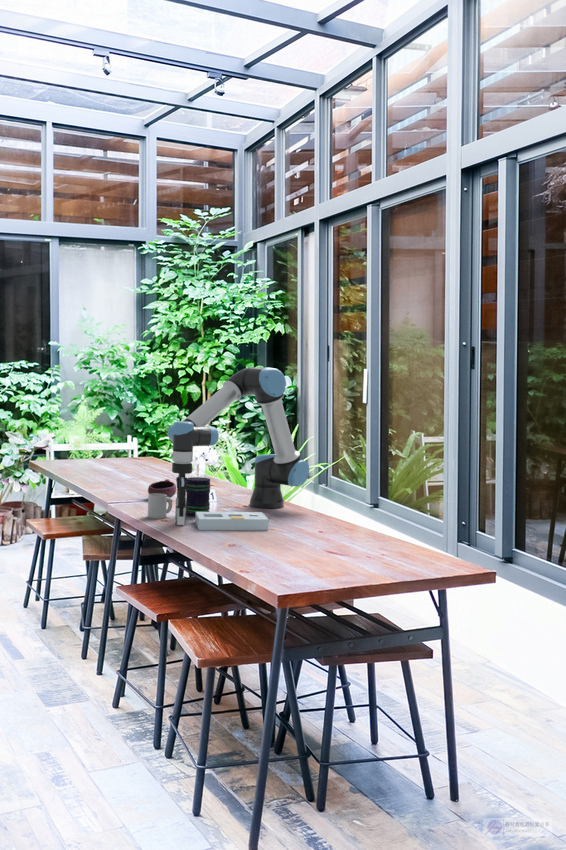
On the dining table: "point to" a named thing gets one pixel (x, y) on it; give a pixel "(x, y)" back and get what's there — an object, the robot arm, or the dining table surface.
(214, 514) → the block
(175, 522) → the grey rounded cylinder
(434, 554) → the dining table surface
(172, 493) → the bowl
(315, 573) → the dining table surface
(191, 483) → the storage jar
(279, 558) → the dining table surface
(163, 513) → the cup
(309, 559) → the dining table surface
